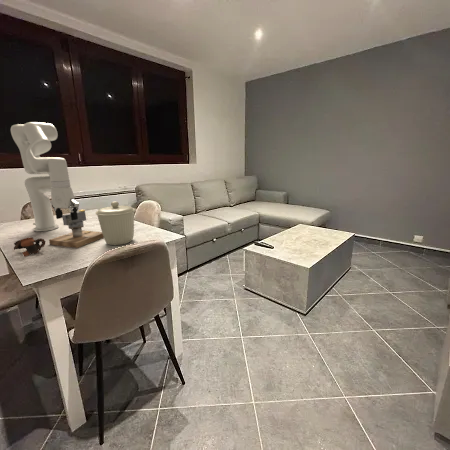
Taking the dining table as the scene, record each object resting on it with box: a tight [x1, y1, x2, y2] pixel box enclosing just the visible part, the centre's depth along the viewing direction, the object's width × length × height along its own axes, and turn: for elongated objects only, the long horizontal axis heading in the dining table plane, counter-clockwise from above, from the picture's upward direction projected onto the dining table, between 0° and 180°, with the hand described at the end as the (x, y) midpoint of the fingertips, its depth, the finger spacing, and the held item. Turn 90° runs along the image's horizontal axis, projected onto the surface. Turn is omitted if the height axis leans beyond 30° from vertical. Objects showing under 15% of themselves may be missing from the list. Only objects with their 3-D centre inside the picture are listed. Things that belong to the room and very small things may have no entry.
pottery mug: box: [13, 236, 46, 257], centre depth 115 cm, size 12×10×8 cm
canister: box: [95, 200, 136, 246], centre depth 124 cm, size 18×18×21 cm
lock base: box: [48, 227, 104, 249], centre depth 130 cm, size 18×18×7 cm
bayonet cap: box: [61, 209, 87, 230], centre depth 128 cm, size 11×7×8 cm, turn 159°
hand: (67, 218), depth 124 cm, fingers open, 9 cm apart
